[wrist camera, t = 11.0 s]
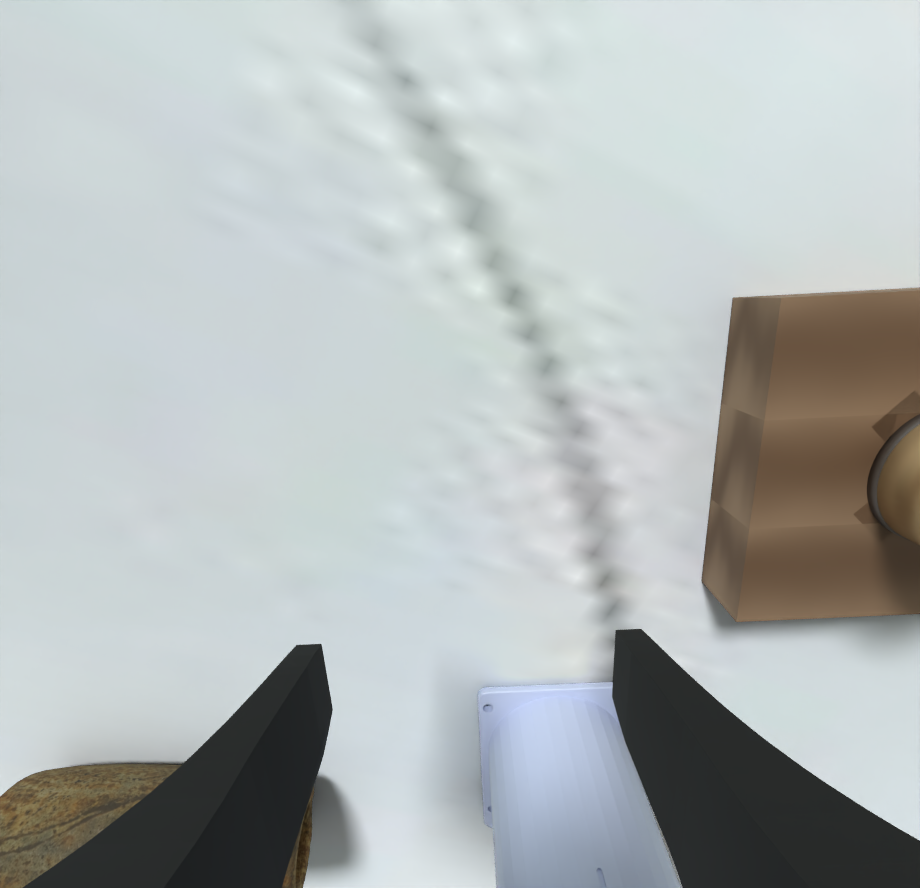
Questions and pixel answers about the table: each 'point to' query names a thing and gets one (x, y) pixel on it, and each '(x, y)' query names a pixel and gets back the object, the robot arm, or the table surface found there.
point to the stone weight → (88, 816)
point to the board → (812, 456)
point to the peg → (898, 482)
